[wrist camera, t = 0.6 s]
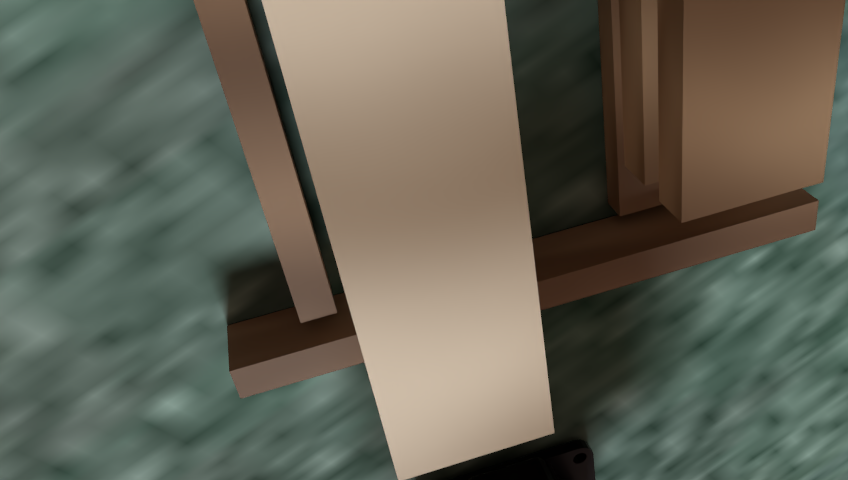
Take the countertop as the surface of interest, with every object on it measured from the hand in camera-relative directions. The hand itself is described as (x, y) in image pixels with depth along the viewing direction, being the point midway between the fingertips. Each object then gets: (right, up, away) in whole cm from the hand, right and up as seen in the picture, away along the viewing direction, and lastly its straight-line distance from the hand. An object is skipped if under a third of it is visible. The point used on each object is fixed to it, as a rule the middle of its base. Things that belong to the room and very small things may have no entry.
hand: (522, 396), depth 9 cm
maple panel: (-3, +6, +11) cm, 13 cm away
